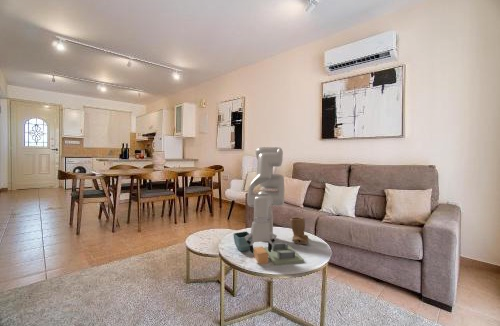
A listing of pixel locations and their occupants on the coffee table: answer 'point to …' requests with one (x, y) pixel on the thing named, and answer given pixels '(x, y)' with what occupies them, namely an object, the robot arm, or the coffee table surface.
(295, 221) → the brown boot
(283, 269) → the coffee table surface
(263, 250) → the tall tan rectangular prism
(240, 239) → the flower pot
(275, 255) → the green bracket base plate
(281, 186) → the robot arm
